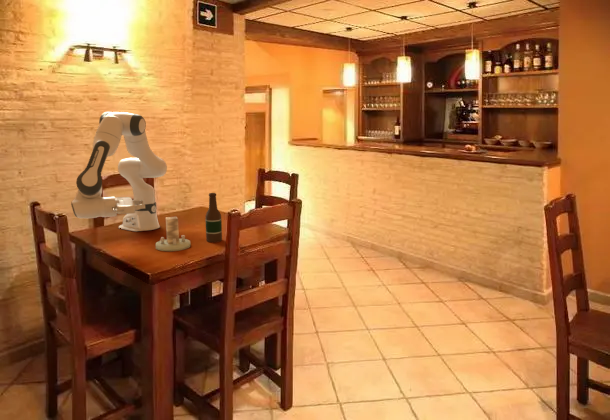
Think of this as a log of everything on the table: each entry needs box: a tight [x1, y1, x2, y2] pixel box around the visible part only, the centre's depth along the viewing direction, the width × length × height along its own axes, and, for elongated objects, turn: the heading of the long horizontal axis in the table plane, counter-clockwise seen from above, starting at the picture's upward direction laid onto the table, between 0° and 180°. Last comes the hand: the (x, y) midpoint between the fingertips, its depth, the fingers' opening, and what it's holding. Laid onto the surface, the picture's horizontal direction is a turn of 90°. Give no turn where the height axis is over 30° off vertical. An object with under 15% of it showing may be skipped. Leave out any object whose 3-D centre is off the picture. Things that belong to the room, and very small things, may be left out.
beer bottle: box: [204, 192, 223, 243], centre depth 243 cm, size 8×8×24 cm
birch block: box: [165, 216, 180, 244], centre depth 232 cm, size 5×5×12 cm
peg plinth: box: [155, 234, 191, 252], centre depth 233 cm, size 16×16×5 cm
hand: (144, 204), depth 225 cm, fingers open, 8 cm apart
